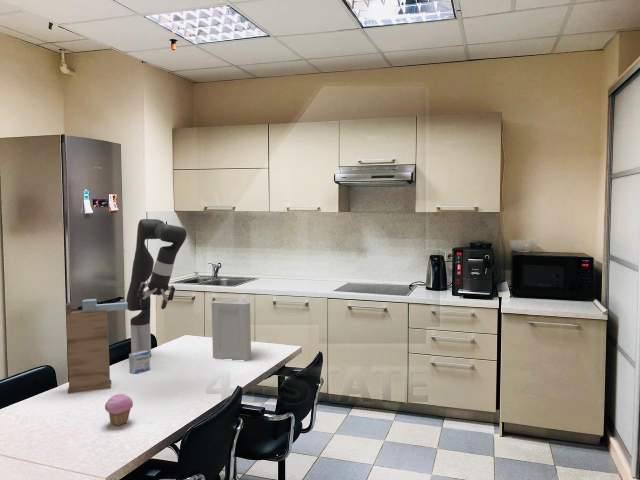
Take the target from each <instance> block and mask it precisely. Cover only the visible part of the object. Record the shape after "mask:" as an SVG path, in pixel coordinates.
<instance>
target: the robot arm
mask: <svg viewBox="0 0 640 480" xmlns="http://www.w3.org/2000/svg"><path fill="white" fill-rule="evenodd" d="M136 231H137V233H136V244H135V252H134V258H133V263H132V268H131V277H130V284H129V287H128V290H127V294H126V300H125V302H127V305H128V311H130V312H138V311H140V312H139V313H138V314H137V315H134V316H133V317H131V318H130V322H129V323H130V342H131V343H130V347H131V352H130V354H132V353H135V352H139V351H143V350H146V351H149V359H151V357H152V344H151V343H152V341H151V340H152V339H151V337H152V336H151V301H152V300H151V295H153V296H156V295H157V296H161V295H162V297H163V300H162V301H161V305H160V308H161V310H164V309H166V307H167V306H168V305H167V304H168V302H169V301H173V300H174V296H175V291H176V288H175V286H174V285H169V284H170V280H171V277H172V275H173V270H174V264H175V261H176V257H177V254H178V253H179V251H180V249H181V247H182V245H183V244H184V243H185V241H186V238H187V233H188V232H187V229H185V228H184V227H183V226H176V225H173V224H167V223H165V222H164V221H162V220H160V219H157V218H143V219H140V220H139V221H138V224H137V230H136ZM146 240H160V241H161V242H165V243H171V245H165V246H161V247H160V248H159V250H158V253H157V257H156V260H155V261H154V258H153V256H152V254H151V253H150V251H149V250H148V247H147V245H146ZM149 279H150V280H149ZM148 280H149V282H148V283H146V282H147V281H148ZM145 289H146V290H145ZM166 291H169V293H168V296H167V294H166Z"/></svg>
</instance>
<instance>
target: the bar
mask: <svg viewBox="0 0 640 480" xmlns="http://www.w3.org/2000/svg"><path fill="white" fill-rule="evenodd" d="M97 300H98V299H97V298H89V299H83V300H82V301H81V304H82V309H81V310H83V312H90V311H104V310H106V311H107V312H111V311H125V310H128V305H127V302H126V301H125V302H115V303H102V304H100V303H99V304H98V303H97ZM128 311H129V310H128Z"/></svg>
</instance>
